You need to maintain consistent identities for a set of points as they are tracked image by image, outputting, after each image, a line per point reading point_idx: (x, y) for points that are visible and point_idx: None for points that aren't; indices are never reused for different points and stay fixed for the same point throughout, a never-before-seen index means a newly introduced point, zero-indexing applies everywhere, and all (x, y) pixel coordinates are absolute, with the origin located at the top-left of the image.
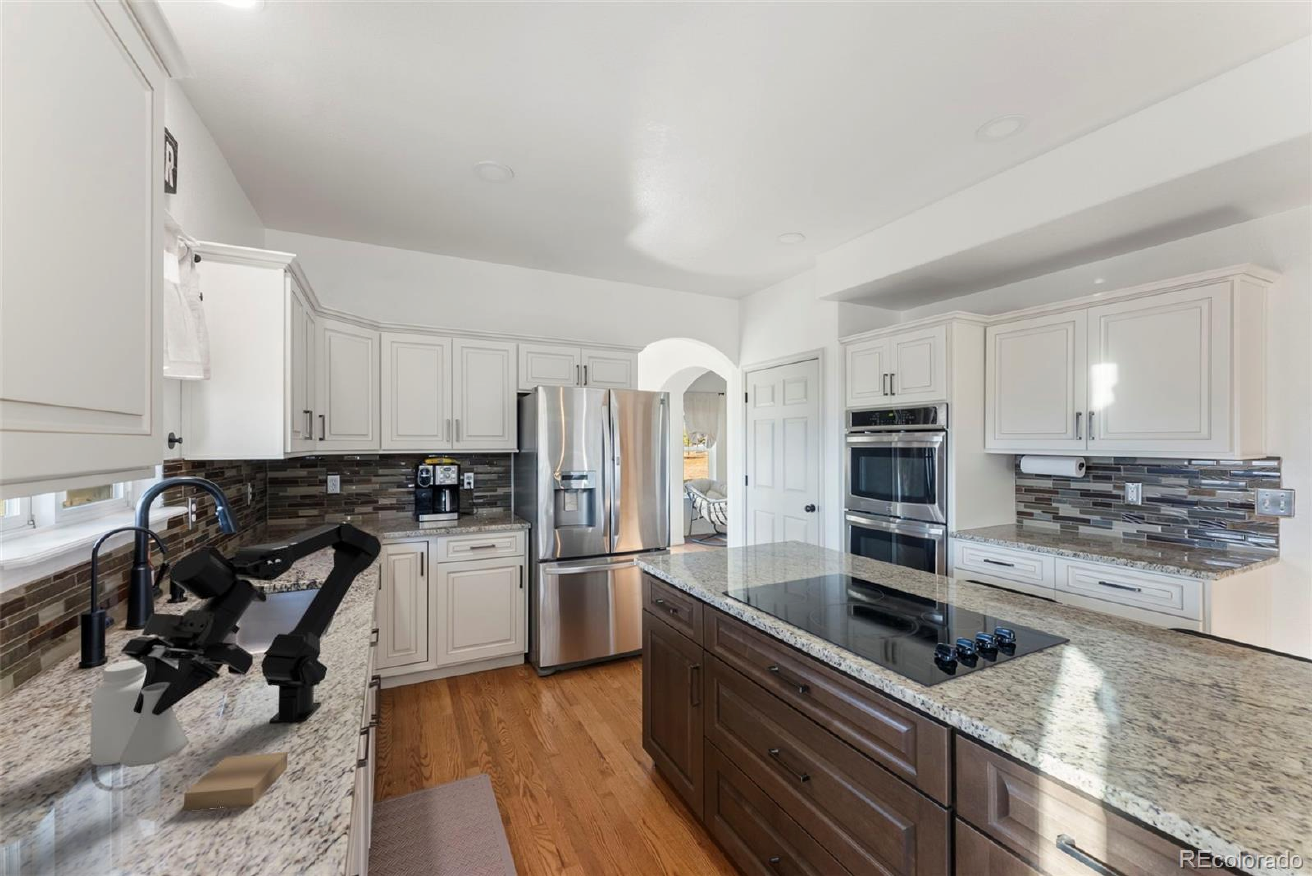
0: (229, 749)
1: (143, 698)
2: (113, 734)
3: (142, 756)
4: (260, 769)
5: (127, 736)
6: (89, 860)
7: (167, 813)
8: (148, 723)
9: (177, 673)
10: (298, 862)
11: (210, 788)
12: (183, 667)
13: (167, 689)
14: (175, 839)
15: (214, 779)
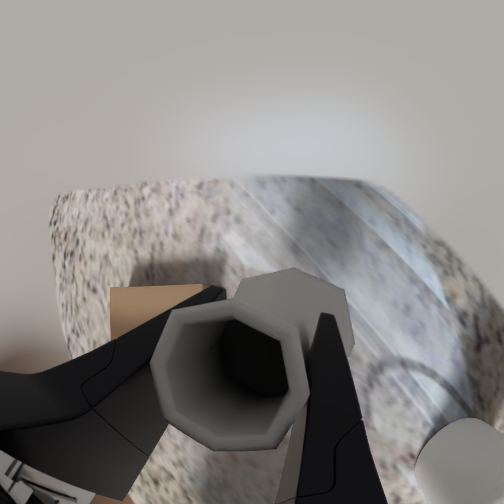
0: (267, 467)
1: (310, 356)
2: (472, 444)
3: (268, 276)
4: None
5: (449, 453)
6: (271, 184)
7: (238, 284)
8: (256, 299)
9: (74, 409)
10: (66, 195)
11: (167, 294)
12: (8, 389)
13: (147, 347)
14: (184, 223)
15: None
